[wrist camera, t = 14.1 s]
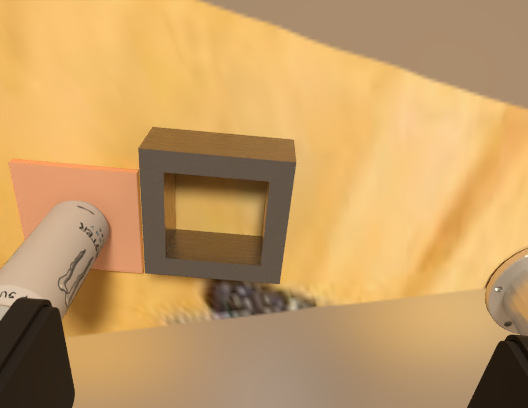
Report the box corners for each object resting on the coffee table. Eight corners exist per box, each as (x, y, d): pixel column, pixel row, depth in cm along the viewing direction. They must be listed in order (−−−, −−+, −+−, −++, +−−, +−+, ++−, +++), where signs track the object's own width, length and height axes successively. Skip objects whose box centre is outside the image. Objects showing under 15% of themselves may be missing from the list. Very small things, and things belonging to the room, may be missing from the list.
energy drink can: (115, 247, 47) (54, 362, 34) (57, 244, 47) (-26, 359, 34) (108, 197, 44) (38, 302, 31) (46, 194, 44) (-49, 298, 31)
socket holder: (293, 139, 41) (296, 162, 37) (278, 253, 48) (279, 284, 44) (152, 127, 41) (138, 148, 37) (156, 243, 48) (145, 273, 43)
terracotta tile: (138, 170, 43) (136, 173, 43) (144, 268, 49) (142, 273, 48) (12, 158, 43) (8, 162, 42) (33, 259, 49) (30, 264, 48)
